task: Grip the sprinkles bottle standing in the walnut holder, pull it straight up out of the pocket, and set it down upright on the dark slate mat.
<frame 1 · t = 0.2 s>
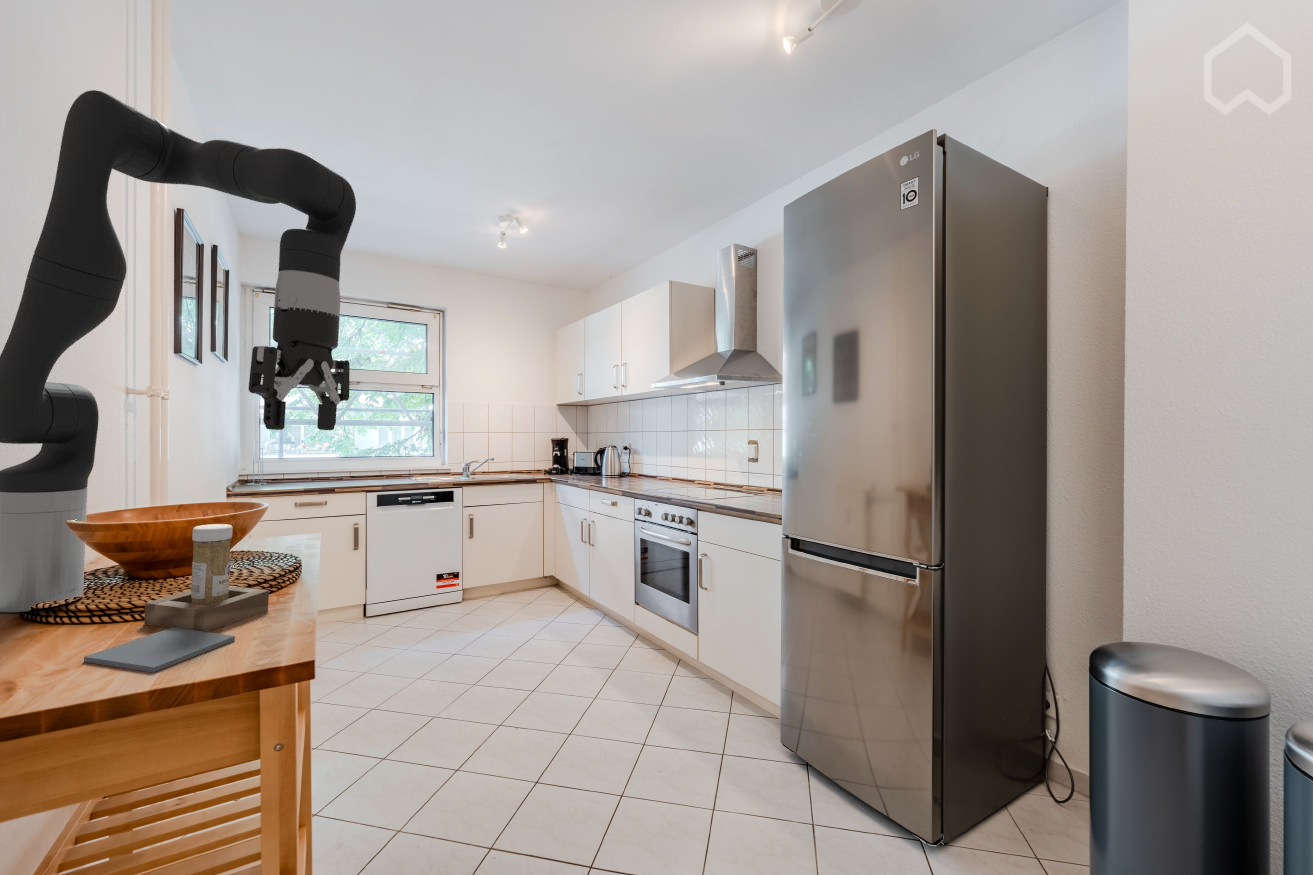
hand: (301, 429, 75), 28 cm above the table, fingers open, 8 cm apart
sprinkles bottle: (209, 617, 81), resting in walnut holder
slate mat: (163, 650, 69), on the table
walnut holder: (209, 616, 81), on the table
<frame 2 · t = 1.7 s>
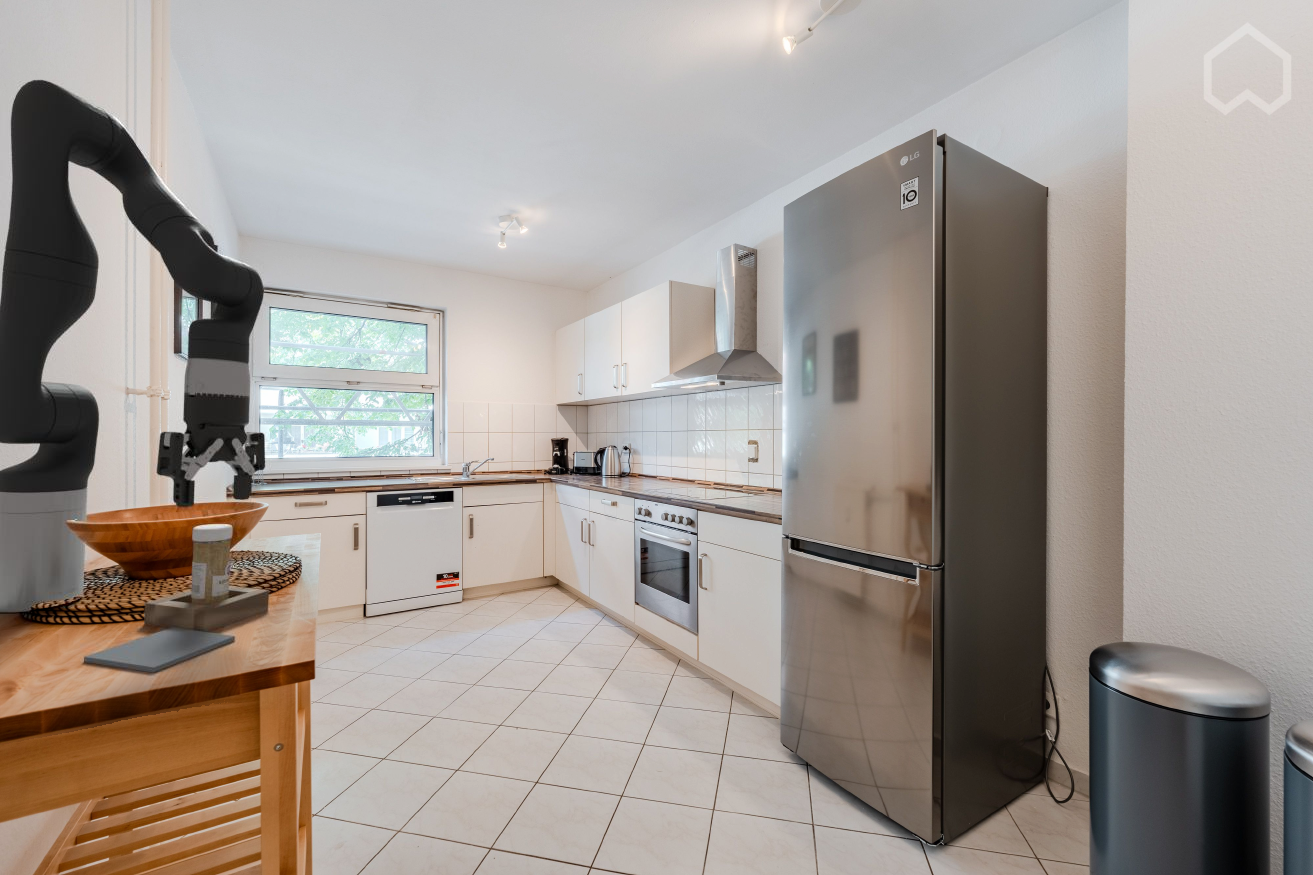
hand: (214, 502, 80), 17 cm above the table, fingers open, 8 cm apart
nothing on the table moved.
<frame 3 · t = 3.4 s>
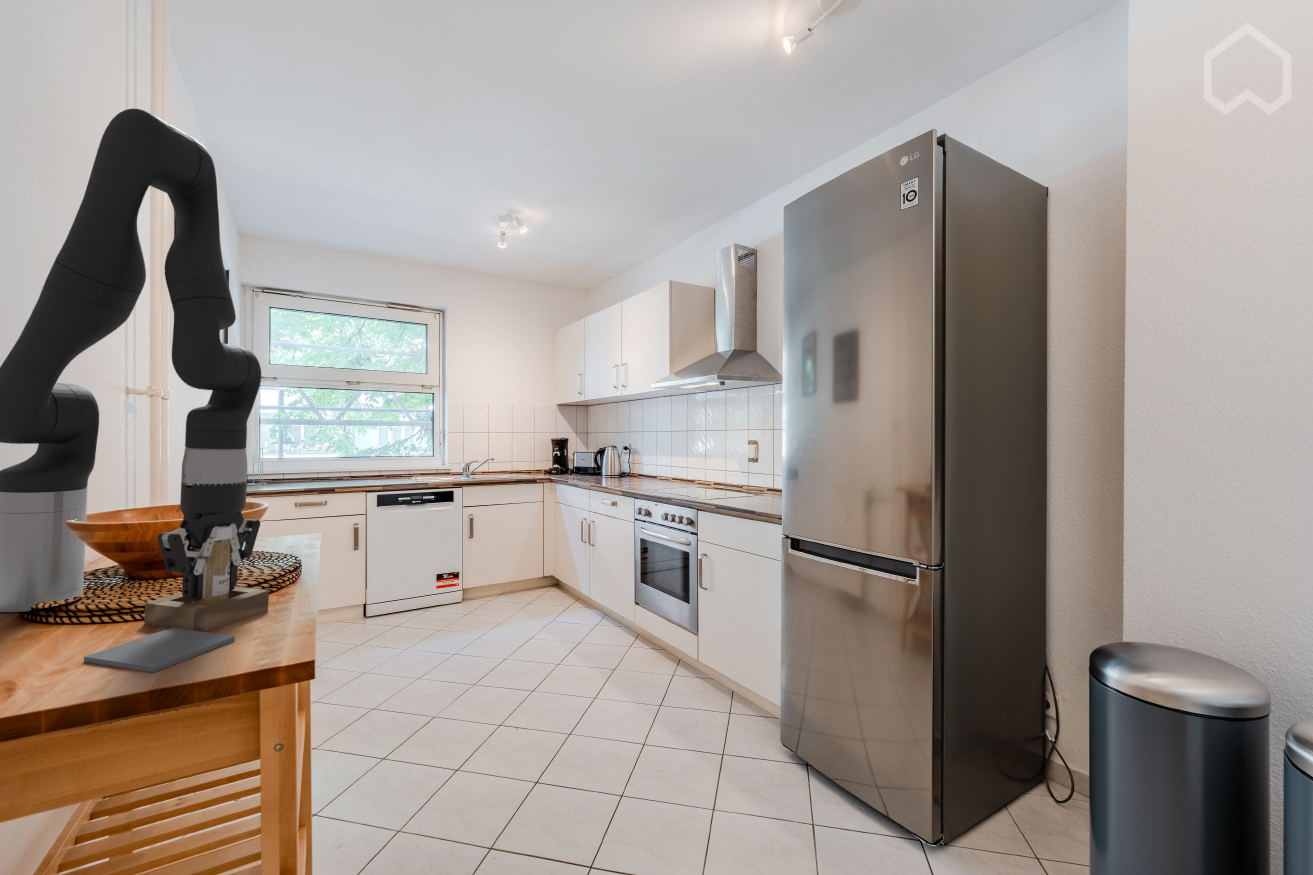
hand: (210, 594, 81), 3 cm above the table, fingers closed on sprinkles bottle, 4 cm apart
sprinkles bottle: (209, 617, 81), resting in walnut holder, touching gripper
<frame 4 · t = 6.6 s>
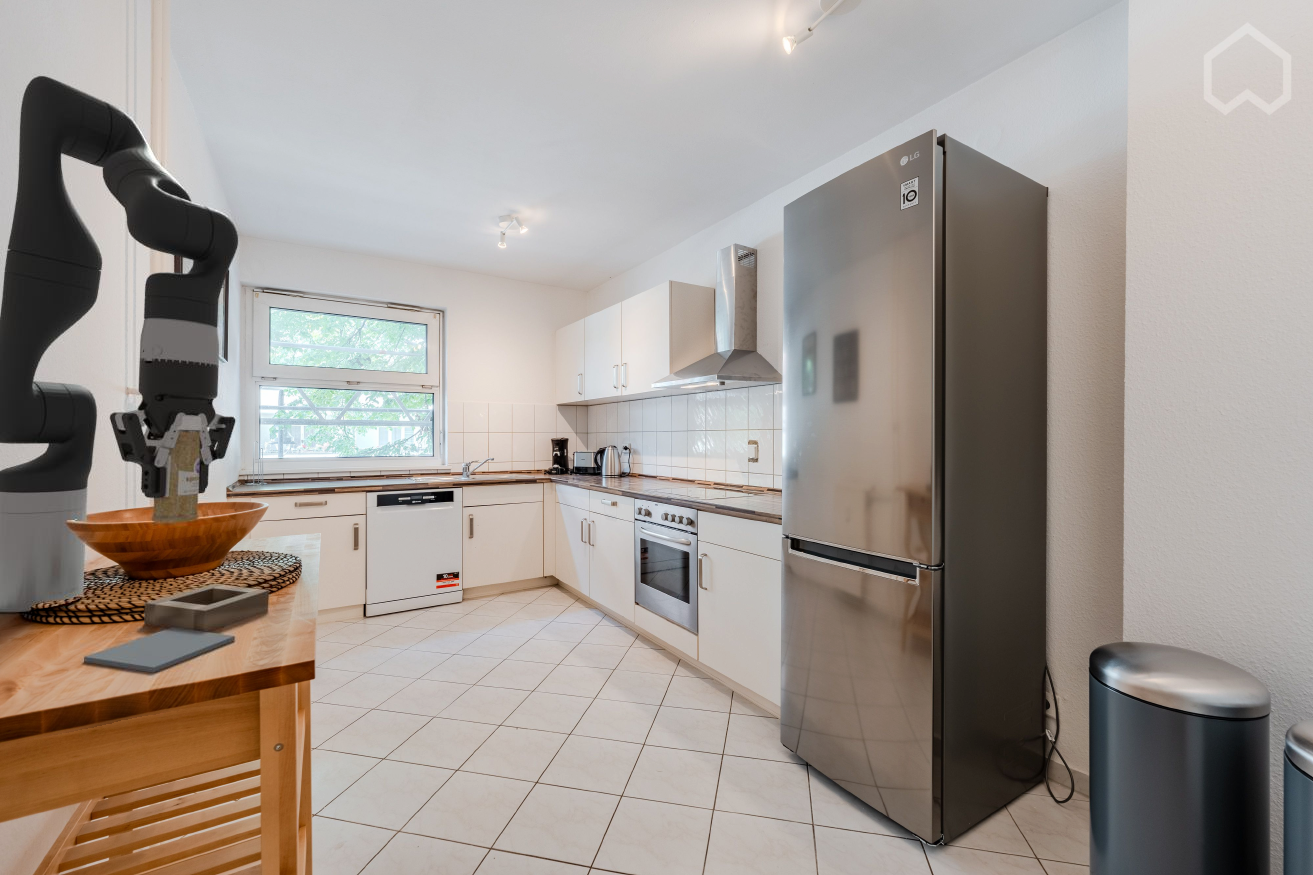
hand: (175, 494, 69), 20 cm above the table, fingers closed on sprinkles bottle, 4 cm apart
sprinkles bottle: (175, 522, 69), point 16 cm above the table, touching gripper
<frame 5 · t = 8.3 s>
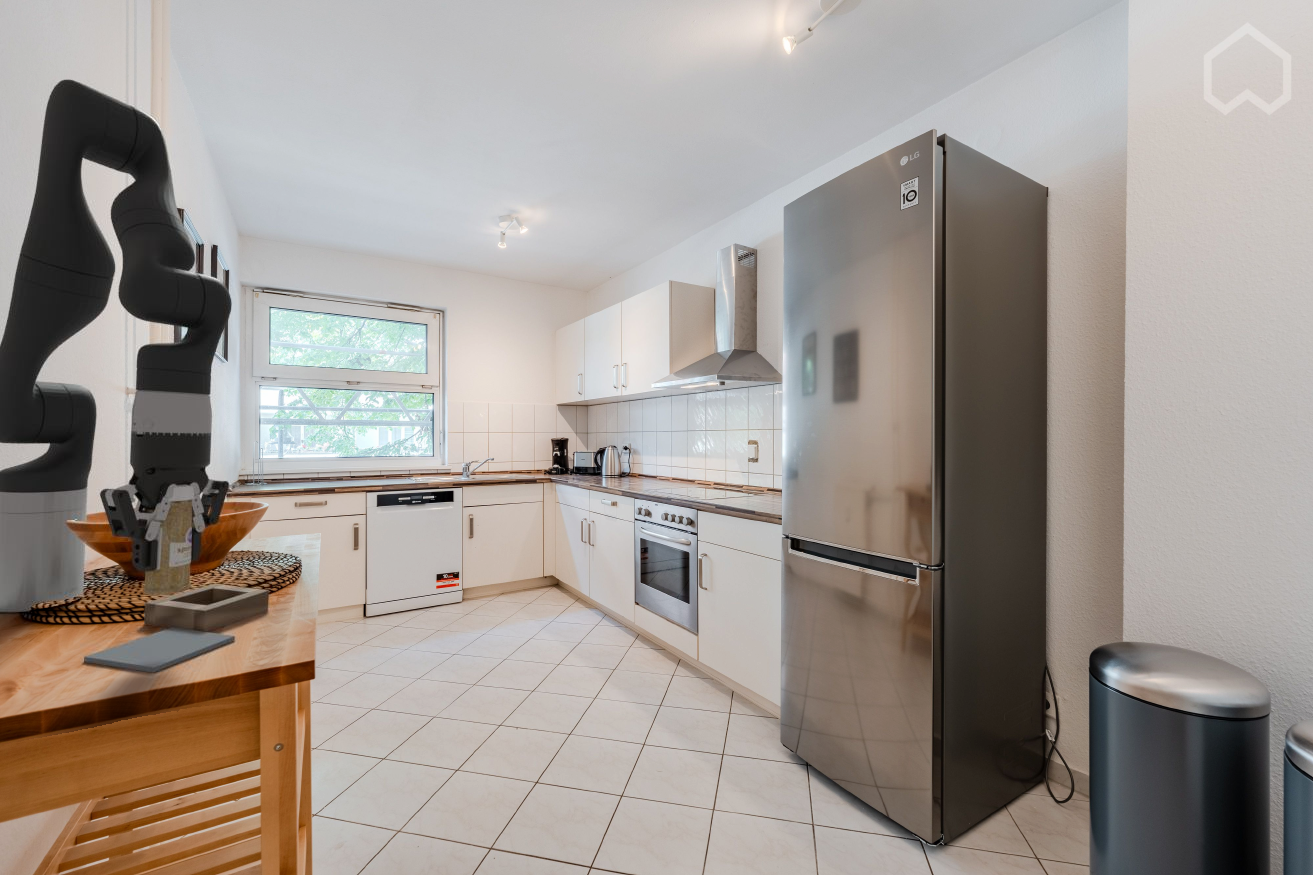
hand: (167, 564, 69), 11 cm above the table, fingers closed on sprinkles bottle, 4 cm apart
sprinkles bottle: (166, 592, 69), point 7 cm above the table, touching gripper
when the fingers open (5 cm above the table, at t = 9.8 s): sprinkles bottle drops 1 cm, resting on slate mat.
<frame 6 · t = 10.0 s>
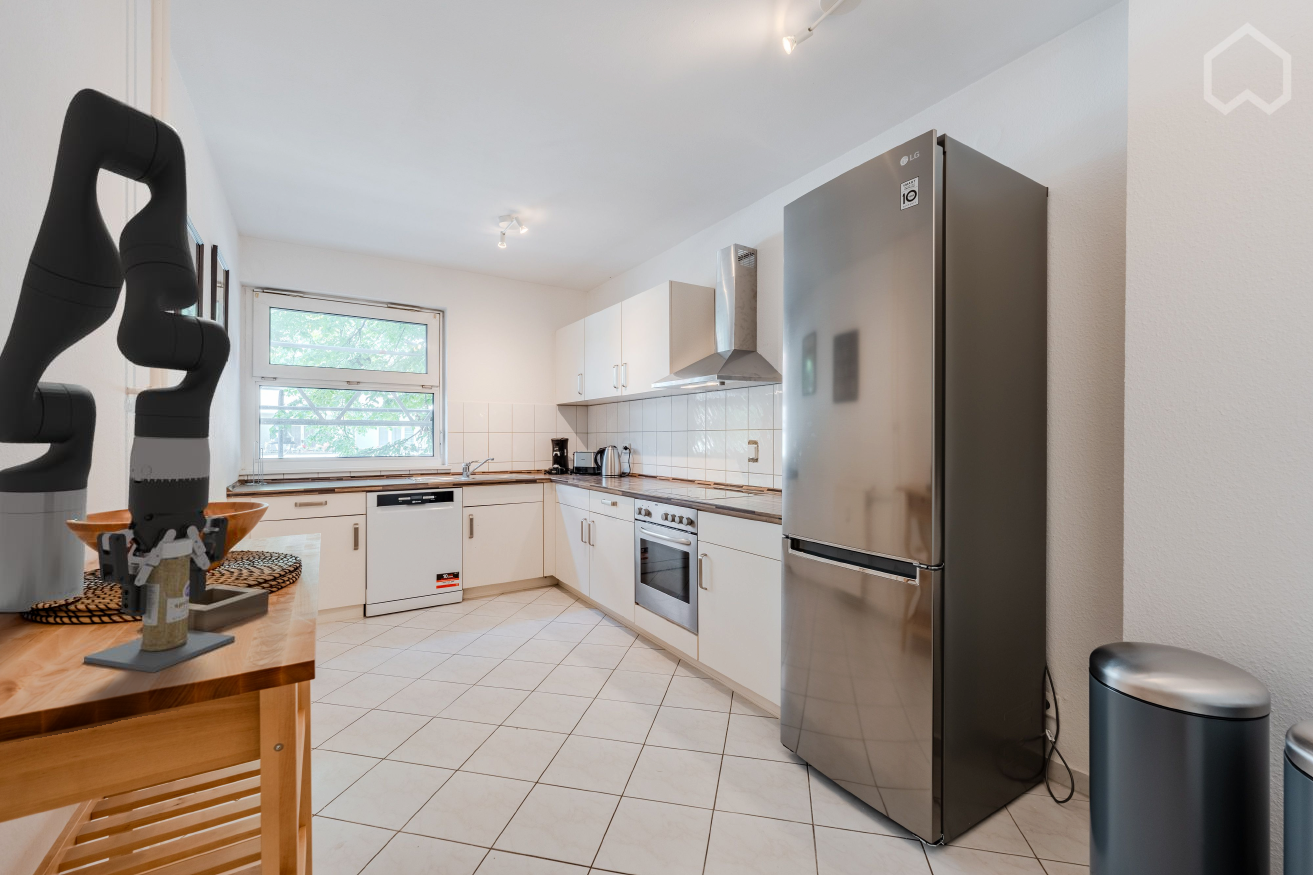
hand: (165, 605, 69), 6 cm above the table, fingers open, 6 cm apart
sprinkles bottle: (164, 646, 69), resting on slate mat
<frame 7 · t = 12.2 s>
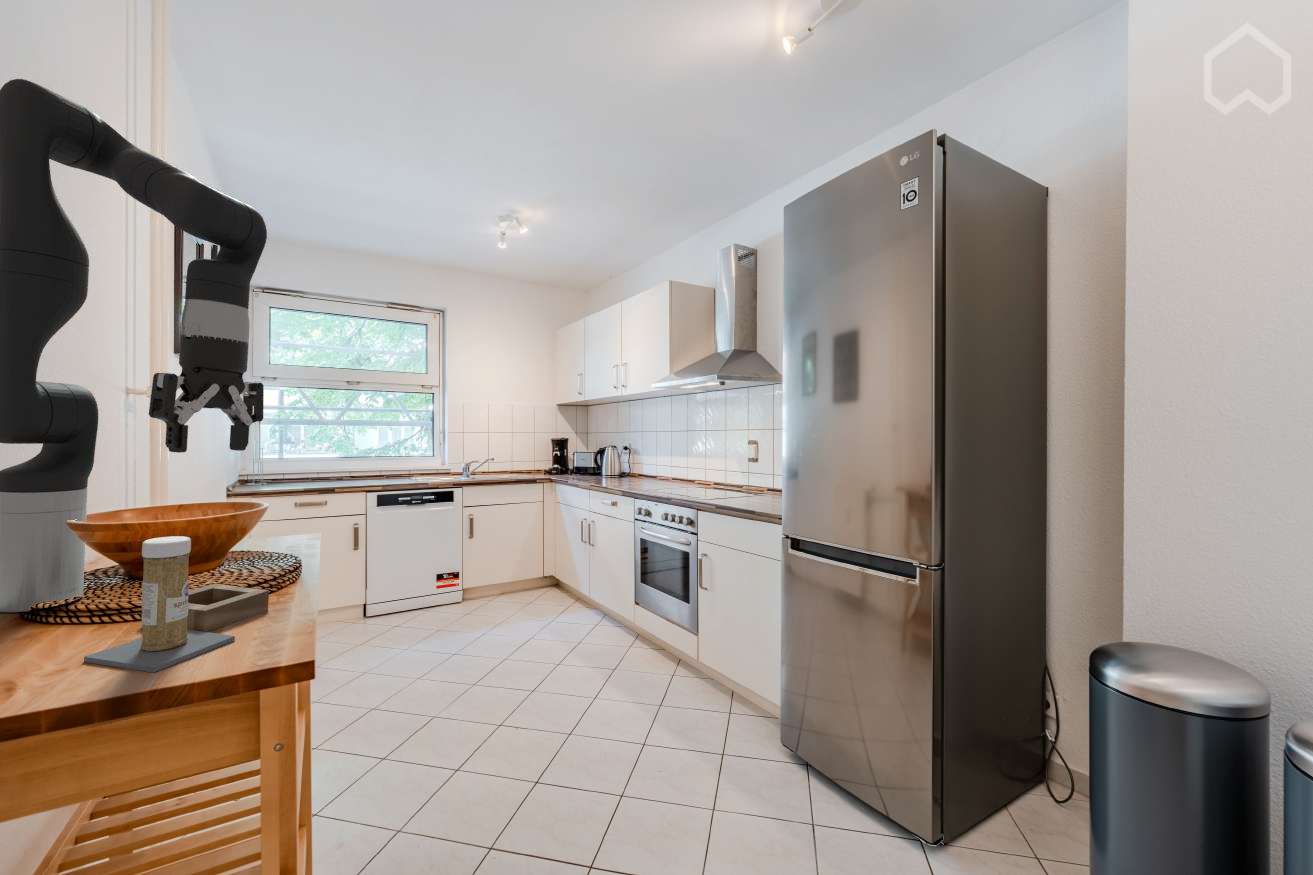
hand: (208, 451, 78), 25 cm above the table, fingers open, 8 cm apart
nothing on the table moved.
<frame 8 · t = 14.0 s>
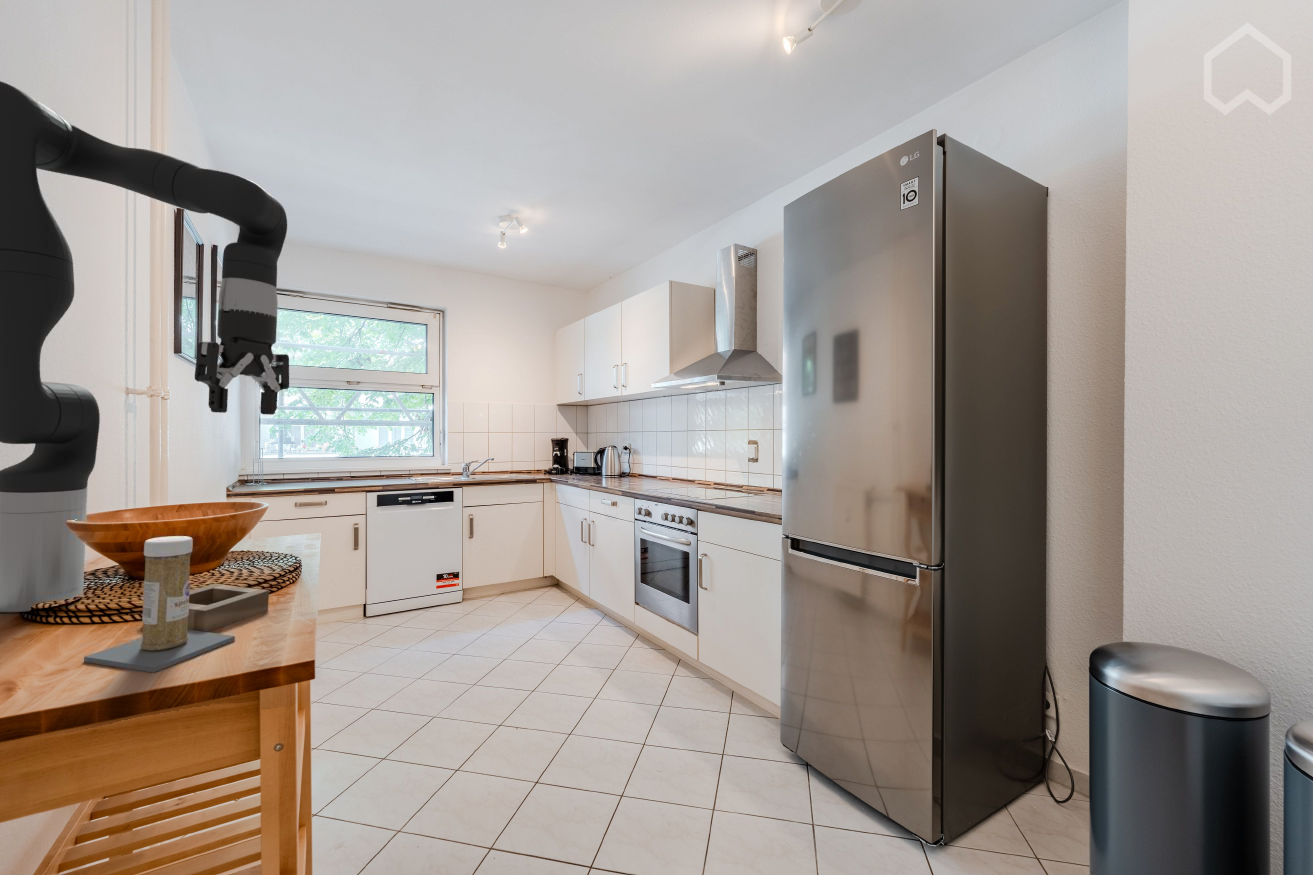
hand: (244, 413, 88), 30 cm above the table, fingers open, 8 cm apart
nothing on the table moved.
at the end: sprinkles bottle 0.1 cm off-centre on the slate mat, point 0.4 cm above the slate mat's base; sprinkles bottle tilted 1°; the gripper is holding nothing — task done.
